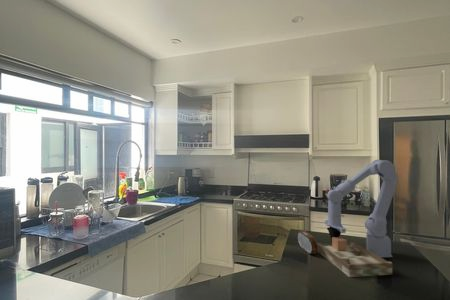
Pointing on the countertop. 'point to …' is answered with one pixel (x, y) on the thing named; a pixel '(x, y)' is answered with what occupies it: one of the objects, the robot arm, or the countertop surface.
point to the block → (339, 243)
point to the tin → (307, 242)
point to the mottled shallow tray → (356, 260)
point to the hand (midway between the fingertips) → (334, 243)
